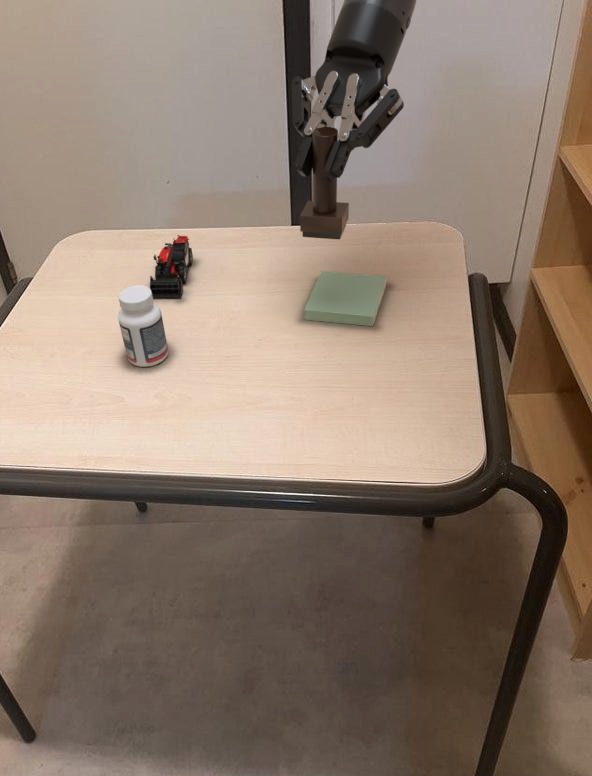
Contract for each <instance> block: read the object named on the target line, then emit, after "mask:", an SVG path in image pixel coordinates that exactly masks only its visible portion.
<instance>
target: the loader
mask: <svg viewBox="0 0 592 776" xmlns="http://www.w3.org/2000/svg"><path fill="white" fill-rule="evenodd" d="M176 237H177V238H176V239H175V237H173V239H172V240H173V241H172V243H170V242H168V243H167V242H165V243H164V245H165V246H164V247H162V249H161V250H160V252H159V254H158V255H157V254H154V255H153V260H154V261H155V263H156V265H155V267H154V269H155V270H154V277H153V276H152V275H150V276H149V288H150V290H151V292H152V296H153V298H181V297H182V295H183V292H184V285H183V283H186V282H187V278H188V269H189V266H190V265H191V266H192V265H193V261H194V255H193V249H192V247H190V243H189V241H190V238H189V237H188V236H187V235H180V234H177V235H176ZM172 277H176V278H177V279H175V278H172ZM154 278H155V279H154Z"/></svg>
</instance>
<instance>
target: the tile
mask: <svg viewBox="0 0 592 776" xmlns="http://www.w3.org/2000/svg"><path fill="white" fill-rule="evenodd" d="M387 278H388V277H387V276H386V275H373V274H365V273H364V274H363V273H350V272H349V273H348V272H337V271H326V270H321V271H320V273H319V275H318V278H317V280H316V282H315V284H314V287H313V289H312V291H311V293H310V296H309V298H308V300H307V302H306V305H305V307H304V309H303V319H304V320H306V321H316V322H328V323H334V324H335V323H336V324H344V325H346V324H347V325H357V326H366V327H374V325H375V321H376V318H377V315H378V312H379V309H380V306H381V303H382V300H383V297H384V293H385V290H386V288H387Z"/></svg>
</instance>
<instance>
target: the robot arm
mask: <svg viewBox="0 0 592 776" xmlns="http://www.w3.org/2000/svg"><path fill="white" fill-rule="evenodd" d="M416 5H417V0H343V3H342V6H341V9H340V11H339V14H338V16H337V20H336V22H335V24H334V27H333V29H332V33H331V36H330V39H329V41H328V44H327V47H326V52H325V57H324V61H323V62H322V64H321V66H320V67H319V68H317V70H316V72H315V75H313V76H310V77H307V78H305V79H303V78H302V77H301V76H299V75H296V76H294V77H293V78H292V80H291V113H292V114H291V117H292V126H293V127H294V128H295V130H296V131H297V133H298V134H300V137H302V141H301V144H300V146H299V148H298V149H299V150H298V152H297V155H296V157H295V159H294V161H295V162H294V163H295V164H294V165H295V167H296V171H297V172H298V173H299V175H300V176H302V177H305V178H309V177H310V175H311V174H312V173H311V172H312V171H313V170H312V132H313V131H314V130H315V129H317V128H321V127H333V125H334V123H335V122H336V119H337V118H338V117H341V122H340V126H339V130H338V142H337V141H335V142H334V144H333V147H332V150H331V152H330V155H329V158H328V160H327V163H326V166H325V168H324V171H323V176H324V177H325V178H326V179H327V181H329V182H335V181H336V179H337V180H338V179H340V178H341V177H342V175H343V174H344V171H345V169H346V166H347V163H348V160H349V158H350V155H351V153H352V151H354V150H355V149H356V148H361V147H362V148H363V149H368V148H370V147H371V146H372V145H373V144H374V143H375V141H376V140H378V138H379V137H380V136H381V135H382V133H383V132H384V131H385V130H386V129H387V127H388V126H389V125H390V124H391V123H392V122H393V120H395V118H396V117H397V116H398V115H399V113H400V112H401V111H402V110H403V108H404V106H405V103H404V101H403V99H402V96H401V94H400V92H399V91H398V89H397V88H391V87H389V83H388V79H389V76H390V74H391V73H392V70H393V67H394V65H395V62H396V59H397V57H398V54H399V52H400V49H401V47H402V44H403V41H404V38H405V36H406V33H407V31H408V29H409V28H410V25H411V21H412V17H413V15H414V12H415V8H416ZM316 90H317V94H318V96H317V98H316V100H315V102H314V104H313V106H312V108H311V102H312V101H313V100H314V96H315V92H316ZM375 103H376V106H375V107H374V108H373V109H372V110H371V111H370V113H368V115H367V116H366V112H367V110H369V109H370V108H371V107H372V106H373V105H374V104H375ZM365 116H366V117H365Z"/></svg>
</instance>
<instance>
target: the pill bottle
mask: <svg viewBox="0 0 592 776" xmlns="http://www.w3.org/2000/svg"><path fill="white" fill-rule="evenodd" d="M118 302H119V307H120V308H121V309H120V310H119V311H118V315H117V319H118V324H119V329H120V333H121V337H122V342H123V346H124V351H125V354H126V357H127V360H128V362H129V363H130V364H132V365H134V366H136V367H142V368H143V367H144V368H145V367H146V368H147V367H153V366H156V365H159V364H160V363H162V362H163V361H165V359H166V358H167V357H168V354H169V346H168V341H167V336H166V331H165V325H164V321H163V320H164V319H163V315H162V310H161V308H160V307H159V305H158V304H157V303H155V302H154V297H153V296H152V292H151V290H150V287H148V286H146V285H132V286H127V287H125V288H123V289H122V290H121V291H120V292H119V294H118Z"/></svg>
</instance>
